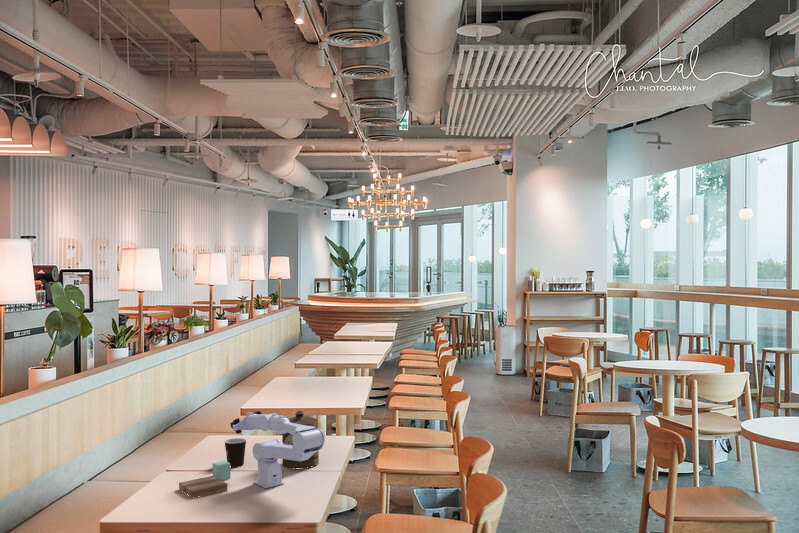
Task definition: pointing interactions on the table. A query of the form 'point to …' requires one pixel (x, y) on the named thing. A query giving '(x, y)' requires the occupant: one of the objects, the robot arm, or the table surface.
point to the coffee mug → (235, 451)
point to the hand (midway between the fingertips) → (240, 422)
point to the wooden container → (288, 440)
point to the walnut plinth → (203, 486)
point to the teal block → (221, 470)
